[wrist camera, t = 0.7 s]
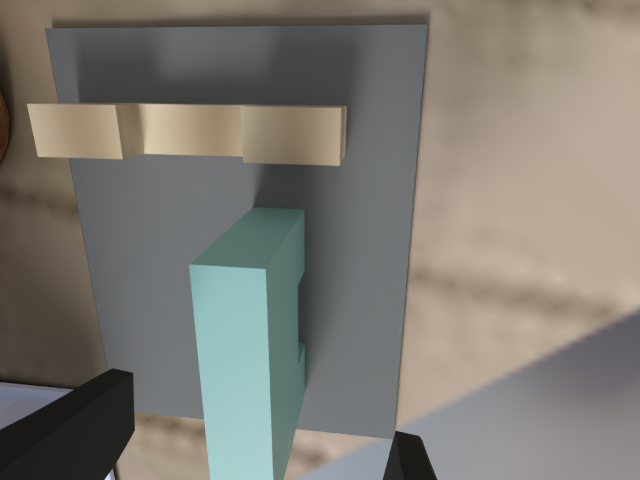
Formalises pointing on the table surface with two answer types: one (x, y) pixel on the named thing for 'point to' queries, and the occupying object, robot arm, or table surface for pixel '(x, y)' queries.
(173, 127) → the birch u-shaped block
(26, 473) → the robot arm
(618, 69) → the table surface
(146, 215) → the mat
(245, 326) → the teal board
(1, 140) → the bread roll
